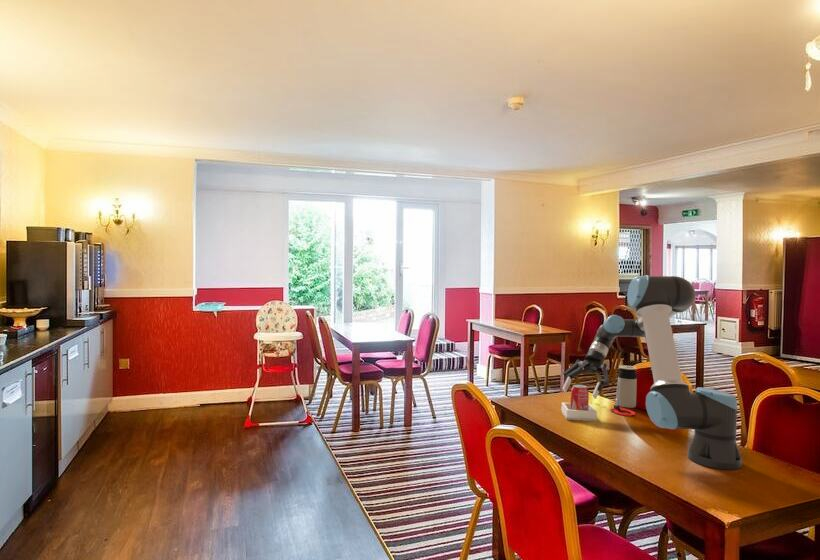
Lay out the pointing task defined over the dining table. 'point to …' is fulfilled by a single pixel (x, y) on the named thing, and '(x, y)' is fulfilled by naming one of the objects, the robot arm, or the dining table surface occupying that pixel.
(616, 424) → the dining table surface
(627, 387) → the travel mug
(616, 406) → the tow hook
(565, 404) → the open white tray
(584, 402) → the soda can
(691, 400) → the robot arm
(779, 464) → the dining table surface
